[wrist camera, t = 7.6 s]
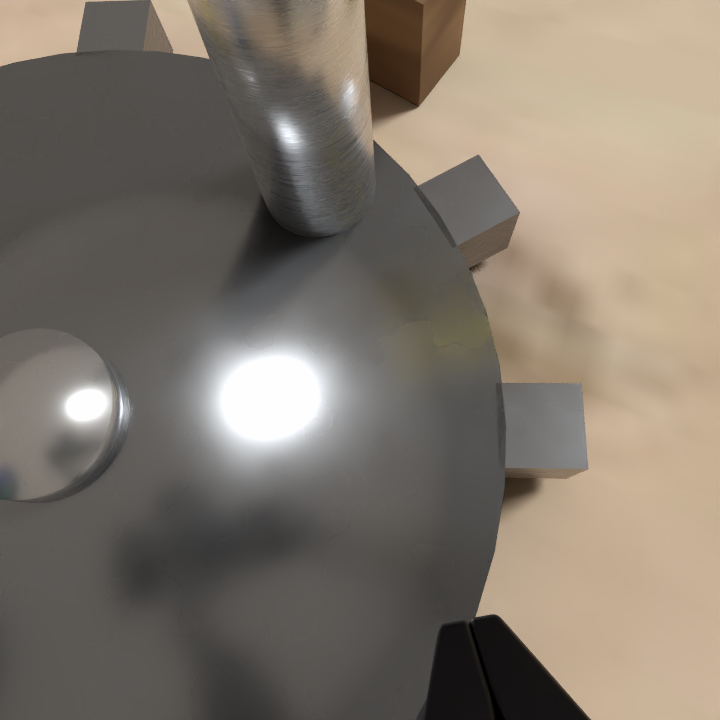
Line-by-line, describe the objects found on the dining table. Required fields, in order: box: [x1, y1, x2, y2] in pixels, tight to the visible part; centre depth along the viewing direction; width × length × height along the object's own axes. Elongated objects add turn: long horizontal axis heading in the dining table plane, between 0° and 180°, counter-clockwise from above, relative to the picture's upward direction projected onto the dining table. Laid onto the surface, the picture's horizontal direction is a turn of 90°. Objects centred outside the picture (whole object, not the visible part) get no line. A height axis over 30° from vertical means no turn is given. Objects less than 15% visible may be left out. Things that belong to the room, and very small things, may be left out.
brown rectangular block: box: [364, 0, 466, 106], centre depth 19 cm, size 2×3×4 cm
